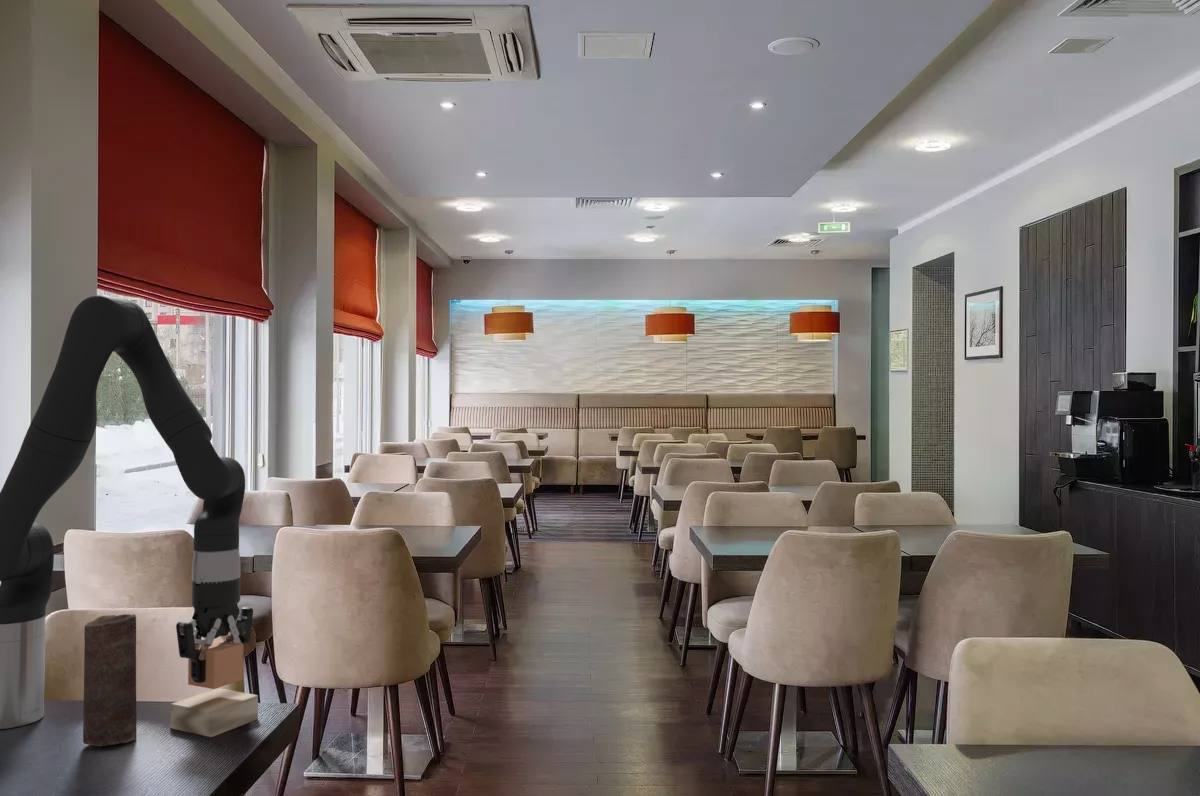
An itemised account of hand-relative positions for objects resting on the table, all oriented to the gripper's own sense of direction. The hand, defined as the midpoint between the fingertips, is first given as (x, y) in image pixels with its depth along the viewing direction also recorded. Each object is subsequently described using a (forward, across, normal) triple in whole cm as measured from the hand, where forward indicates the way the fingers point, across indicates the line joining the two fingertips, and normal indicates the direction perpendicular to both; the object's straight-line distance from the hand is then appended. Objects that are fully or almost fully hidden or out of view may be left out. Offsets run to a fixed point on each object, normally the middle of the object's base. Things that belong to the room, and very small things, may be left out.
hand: (215, 676), depth 147 cm
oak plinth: (+8, 0, 0) cm, 8 cm away
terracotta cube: (+1, 0, 0) cm, 1 cm away
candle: (+8, +14, -7) cm, 18 cm away
